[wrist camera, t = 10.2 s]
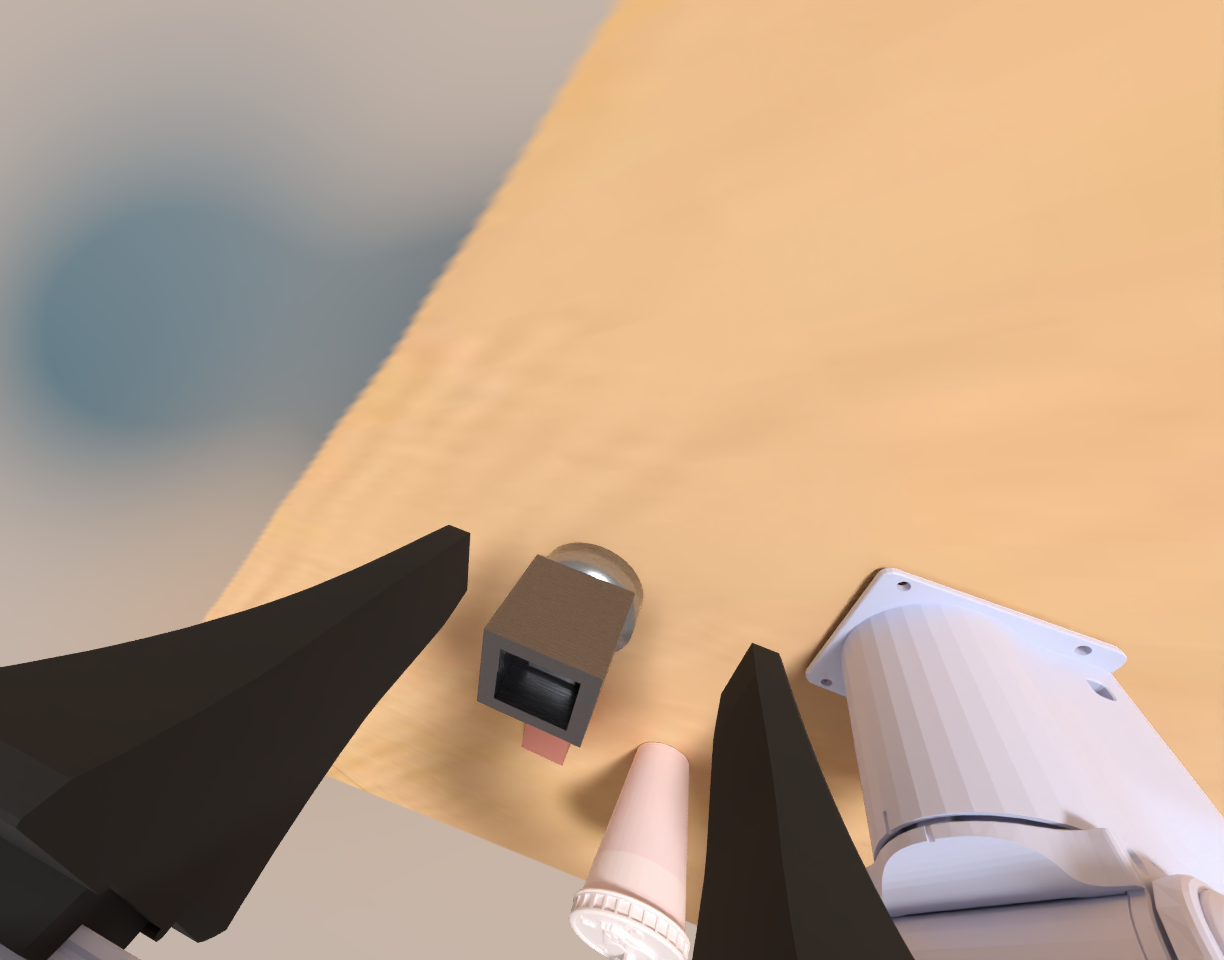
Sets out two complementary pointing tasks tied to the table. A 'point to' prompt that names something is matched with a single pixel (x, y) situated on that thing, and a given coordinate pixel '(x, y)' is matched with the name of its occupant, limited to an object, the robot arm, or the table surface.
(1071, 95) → the table surface
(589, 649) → the hollow square tube
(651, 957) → the smoothie
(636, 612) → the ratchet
